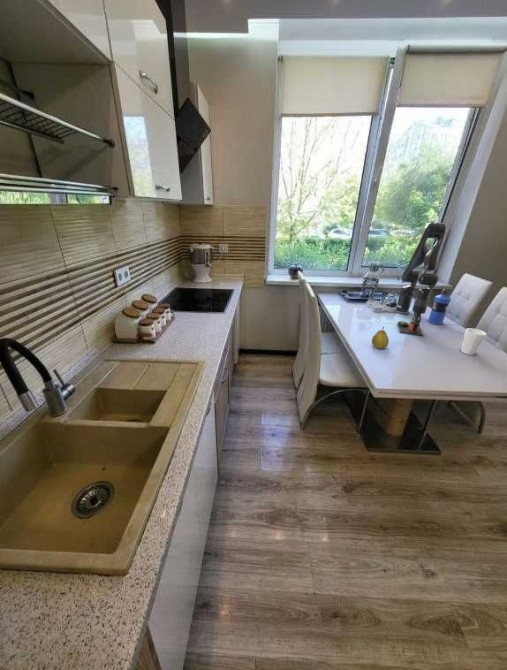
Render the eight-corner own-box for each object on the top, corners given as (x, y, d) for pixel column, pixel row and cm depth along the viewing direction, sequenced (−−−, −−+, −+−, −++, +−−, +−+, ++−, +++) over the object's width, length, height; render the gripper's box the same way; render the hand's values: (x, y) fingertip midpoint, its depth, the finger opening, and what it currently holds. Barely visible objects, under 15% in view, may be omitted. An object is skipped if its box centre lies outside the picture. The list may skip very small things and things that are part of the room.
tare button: (400, 322, 193) (400, 320, 193) (405, 323, 192) (406, 321, 191) (400, 324, 190) (401, 321, 189) (406, 324, 189) (407, 322, 188)
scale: (397, 323, 196) (397, 320, 195) (418, 327, 191) (419, 323, 190) (398, 332, 182) (399, 328, 181) (422, 336, 178) (423, 332, 176)
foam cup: (474, 350, 161) (482, 329, 156) (480, 357, 153) (489, 336, 148) (455, 347, 164) (463, 327, 159) (460, 354, 156) (469, 333, 151)
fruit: (380, 351, 156) (385, 332, 151) (367, 345, 163) (371, 326, 158) (390, 348, 160) (395, 329, 155) (377, 342, 167) (381, 324, 162)
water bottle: (428, 323, 198) (439, 289, 188) (426, 319, 206) (437, 286, 196) (443, 325, 195) (455, 291, 185) (441, 321, 203) (452, 288, 192)
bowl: (407, 328, 187) (409, 321, 185) (417, 329, 185) (419, 322, 183) (408, 331, 182) (410, 324, 180) (418, 332, 180) (420, 325, 178)
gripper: (429, 309, 169) (421, 334, 176) (425, 302, 181) (418, 326, 188) (415, 307, 171) (408, 332, 178) (412, 301, 183) (406, 324, 190)
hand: (413, 328), depth 183 cm, fingers closed on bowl, 6 cm apart
